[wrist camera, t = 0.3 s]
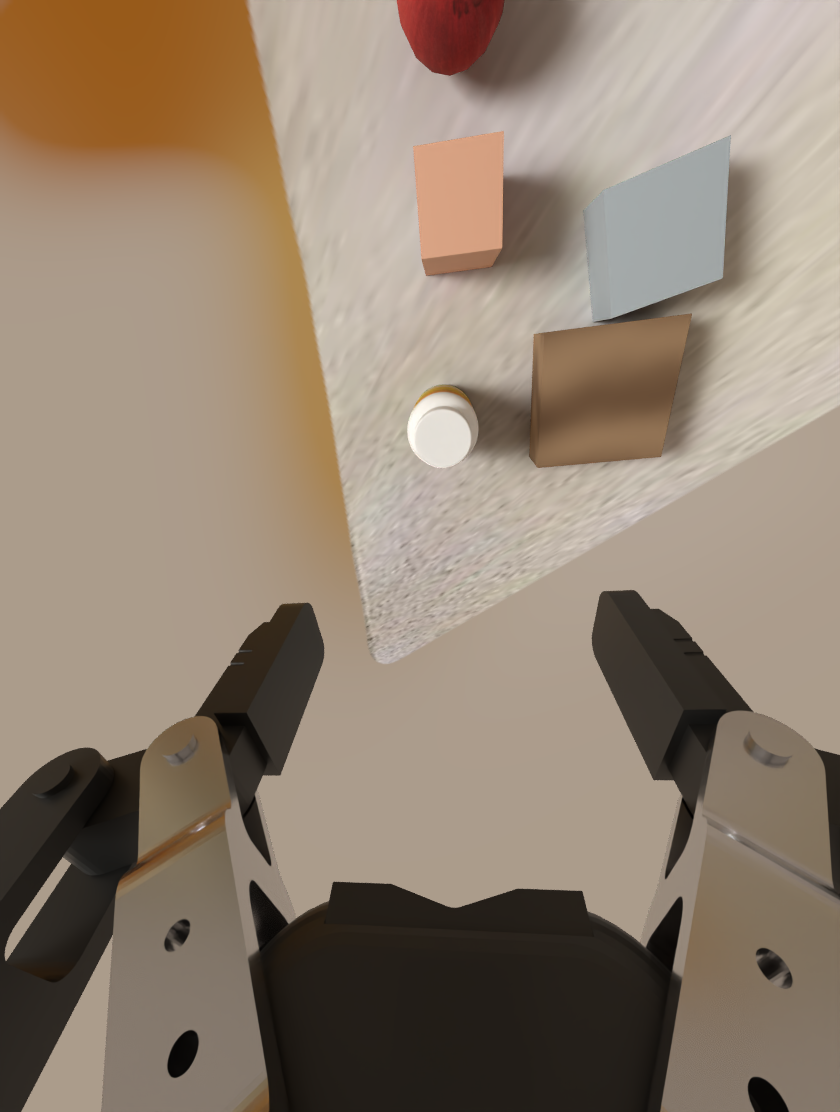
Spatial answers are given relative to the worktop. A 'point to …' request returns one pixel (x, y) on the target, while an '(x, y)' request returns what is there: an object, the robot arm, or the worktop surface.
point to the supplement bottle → (443, 426)
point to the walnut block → (604, 390)
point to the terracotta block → (460, 202)
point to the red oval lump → (449, 31)
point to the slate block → (658, 232)
